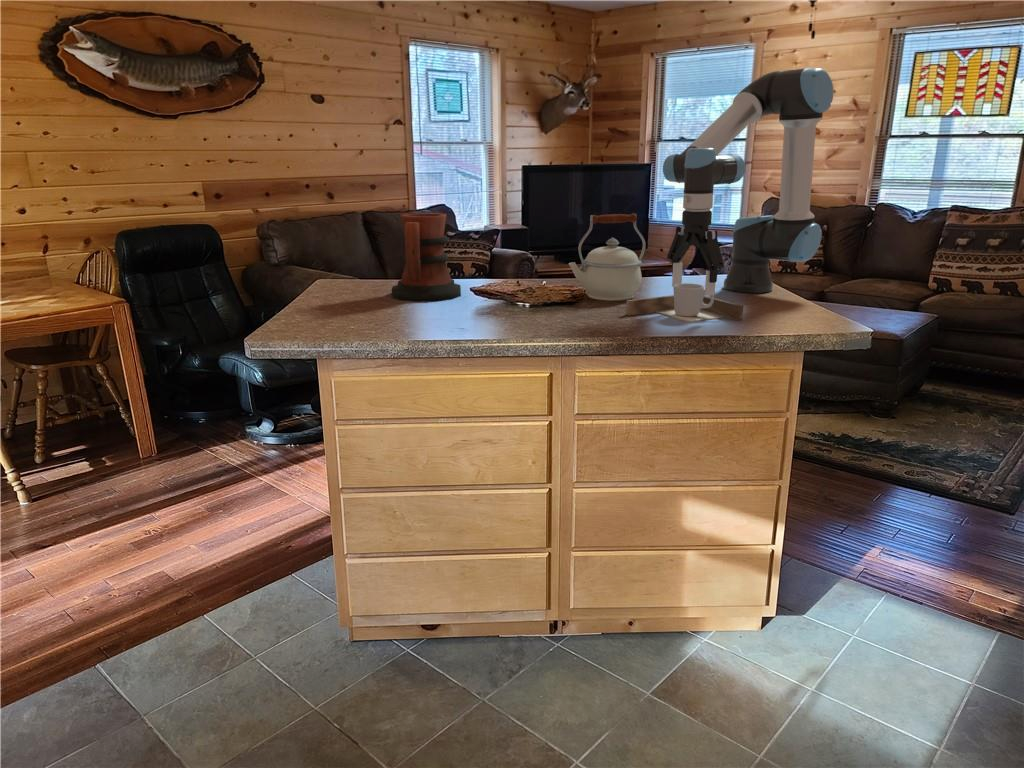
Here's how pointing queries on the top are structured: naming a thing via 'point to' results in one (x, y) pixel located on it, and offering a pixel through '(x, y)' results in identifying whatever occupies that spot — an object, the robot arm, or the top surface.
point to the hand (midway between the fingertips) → (692, 290)
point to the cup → (689, 299)
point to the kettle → (610, 265)
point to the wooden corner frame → (666, 307)
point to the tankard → (425, 261)
